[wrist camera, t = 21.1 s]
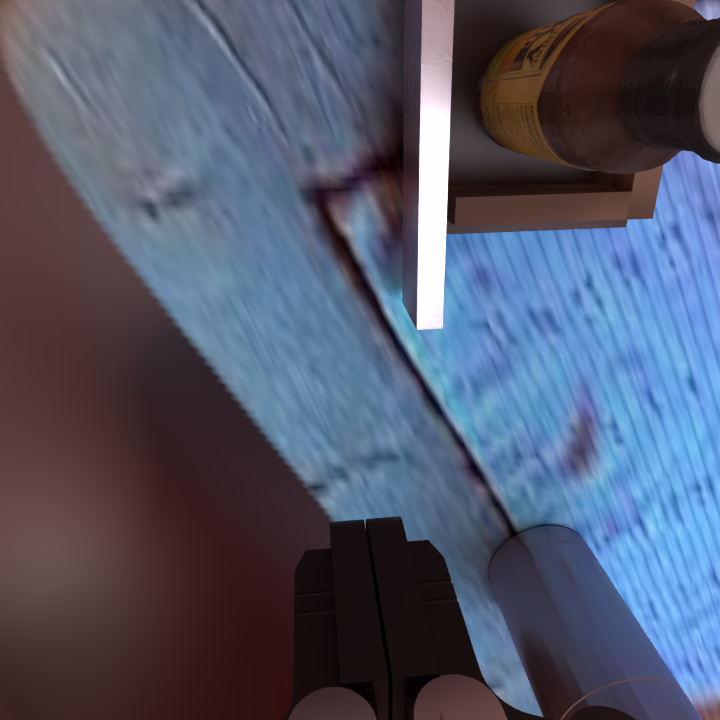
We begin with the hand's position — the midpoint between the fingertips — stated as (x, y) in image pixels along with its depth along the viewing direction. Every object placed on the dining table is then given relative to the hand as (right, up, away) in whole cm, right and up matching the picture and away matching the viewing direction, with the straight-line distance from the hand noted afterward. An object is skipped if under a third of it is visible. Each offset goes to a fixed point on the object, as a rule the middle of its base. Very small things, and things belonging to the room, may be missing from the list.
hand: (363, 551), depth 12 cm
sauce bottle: (+9, +20, +21) cm, 30 cm away
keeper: (+3, +17, +21) cm, 27 cm away
